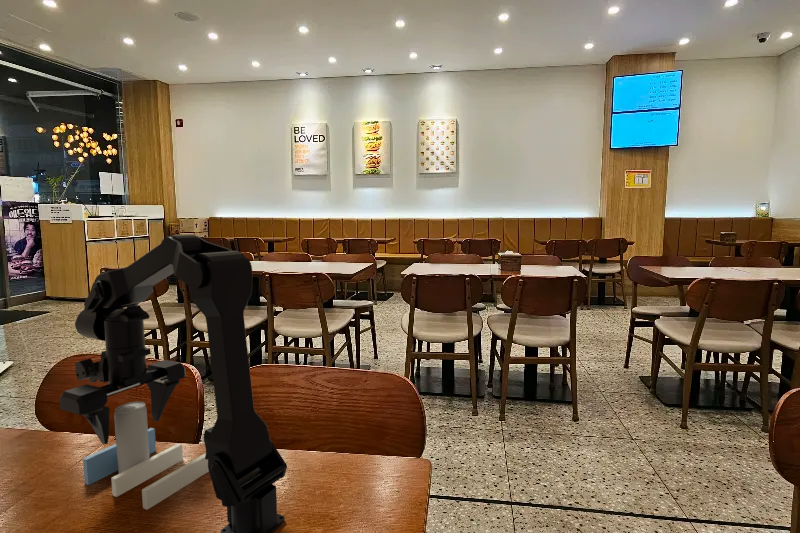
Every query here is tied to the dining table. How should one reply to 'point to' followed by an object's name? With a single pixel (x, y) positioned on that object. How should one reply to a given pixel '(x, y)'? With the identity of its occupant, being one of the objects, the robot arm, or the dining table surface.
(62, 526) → the dining table surface
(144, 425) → the beverage can
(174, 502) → the dining table surface
